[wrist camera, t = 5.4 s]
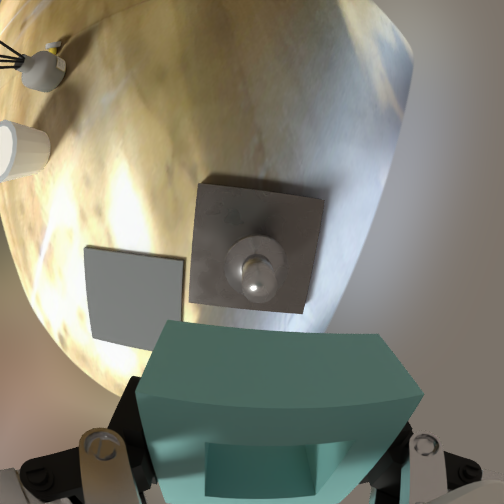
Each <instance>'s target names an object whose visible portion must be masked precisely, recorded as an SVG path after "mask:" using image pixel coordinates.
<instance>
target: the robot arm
mask: <svg viewBox="0 0 504 504" xmlns="http://www.w3.org/2000/svg"><path fill="white" fill-rule="evenodd" d="M140 379H141V377H136V376H132V377H131V378H130V380H129V382H128V384H127V386H126V388H125V391H124V393H123V395H122V397H121V399H120V401H119V404H118V406H117V408H116V410H115V412H114V414H113V417H112V419H111V421H110V423H109V426H108V428H93V429H91V430H89V431H87V432H85V433H84V434H83V435H82V437H81V439H80V441H79V447H76V448H72V449H69V450H66V451H62V452H58V453H54V454H51V455H46V456H42V457H38V458H34V459H30V460H28V461H26V462H25V463H24V464H23V465H22V466H21V469H20V470H15V469H14V468H9V469H4V470H0V504H148V502H147V499H146V496H145V493H144V491H146V490H148V489H150V487H151V483H153V484H157V482H158V479H157V476H156V473H155V470H154V467H153V463H152V460H151V457H150V453H149V450H148V446H147V442H146V439H145V435H144V431H143V427H142V422H141V418H140V413H139V409H138V404H137V399H136V394H135V391H136V388H137V386H138V384H139V381H140ZM366 482H369V483H370V485H371V493H370V500H369V504H504V474H502V473H498V472H494V471H490V470H486V469H483V470H481V467H480V466H479V464H477V463H476V462H475V461H473V460H470V459H467V458H463V457H460V456H457V455H454V454H451V453H448V452H445V451H443V446H442V442H441V440H440V439H439V437H438V436H436V435H435V434H433V433H431V432H428V431H419V432H416V433H415V434H414V433H413V432H412V427H411V426H410V424H409V422H408V421H407V423H406V424H405V426H404V427H403V429H402V430H401V432H400V433H399V434H398V436H397V437H396V439H395V440H394V441H393V443H392V444H391V445H390V447H389V448H388V449H387V451H386V452H385V453H384V454H383V456H382V457H381V458H380V459H379V461H378V462H377V463H376V464H375V465H374V467H373V468H372V469H371V470H370V471H369V472H368V474H367V475H366V476H365V477H364V478H363V479H362V480H361V481H360V482H359V484H362V483H366Z"/></svg>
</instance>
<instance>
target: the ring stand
mask: <svg viewBox="0 0 504 504" xmlns="http://www.w3.org/2000/svg"><path fill="white" fill-rule="evenodd" d="M324 201H325V200H321V199H316V198H310V197H304V196H298V195H291V194H285V193H278V192H271V191H264V190H256V189H248V188H240V187H232V186H223V185H214V184H204V183H198V189H197V199H196V208H195V219H194V230H193V241H192V254H191V269H190V285H189V302H190V303H197V304H205V305H213V306H222V307H231V308H240V309H250V310H260V311H271V312H282V313H295V314H303V310H304V306H305V301H306V297H307V292H308V287H309V283H310V278H311V273H312V268H313V263H314V258H315V253H316V247H317V242H318V236H319V231H320V225H321V219H322V213H323V207H324Z"/></svg>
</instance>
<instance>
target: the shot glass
mask: <svg viewBox="0 0 504 504" xmlns="http://www.w3.org/2000/svg"><path fill="white" fill-rule="evenodd" d="M50 147H51V144H50V140H49V137H48V135H47V134H46V133H45V132H44V131H41V130H38V129H34V128H31V127H28V126H25V125H21V124H18V123H14V122H11V121H8V120H3V121H1V122H0V183H1V182H5V181H9V180H13V179H17V178H21V177H26V176H30V175H35V174H38V173H39V172H41V171H42V170H43V169H44V167H45V165H46V164H47V162H48V159H49V156H50Z"/></svg>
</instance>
